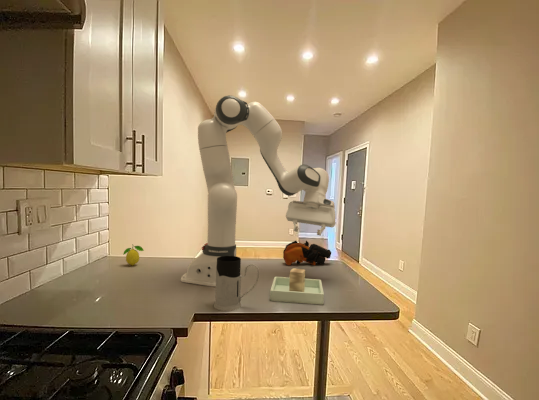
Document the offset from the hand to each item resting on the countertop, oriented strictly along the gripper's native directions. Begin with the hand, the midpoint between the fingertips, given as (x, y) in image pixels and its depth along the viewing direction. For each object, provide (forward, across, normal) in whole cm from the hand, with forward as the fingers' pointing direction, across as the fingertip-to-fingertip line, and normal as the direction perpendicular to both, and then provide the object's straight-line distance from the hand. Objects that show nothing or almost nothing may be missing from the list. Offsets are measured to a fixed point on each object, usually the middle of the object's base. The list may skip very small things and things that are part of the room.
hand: (307, 232), depth 120 cm
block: (+24, +1, -2) cm, 24 cm away
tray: (+25, +2, -2) cm, 25 cm away
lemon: (+27, -76, +7) cm, 81 cm away
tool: (+2, -3, +35) cm, 35 cm away
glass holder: (+36, -14, -16) cm, 41 cm away
